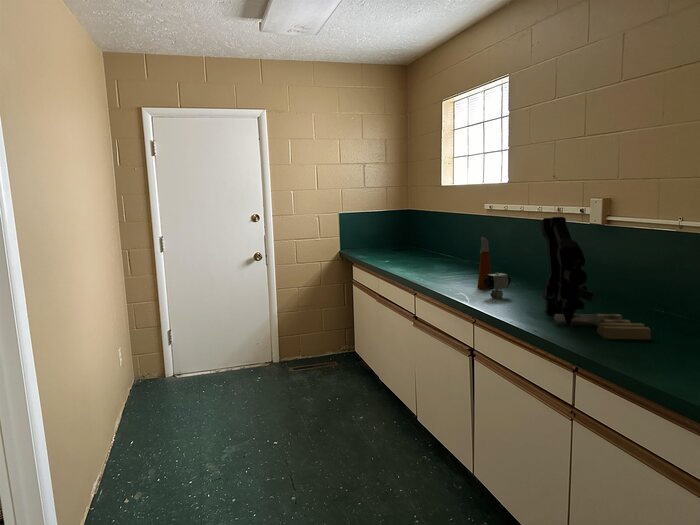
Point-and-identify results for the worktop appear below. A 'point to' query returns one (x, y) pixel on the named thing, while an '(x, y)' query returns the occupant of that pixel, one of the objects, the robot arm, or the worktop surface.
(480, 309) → the worktop surface
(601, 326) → the v block
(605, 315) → the bore beam
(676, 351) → the worktop surface
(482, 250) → the spray bottle
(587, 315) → the axle
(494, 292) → the pneumatic valve
